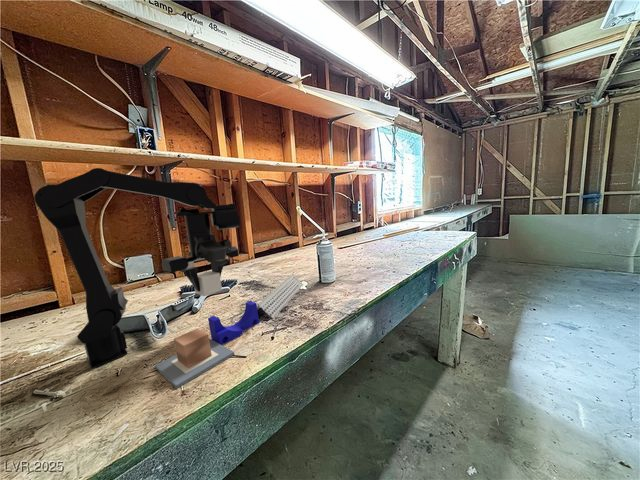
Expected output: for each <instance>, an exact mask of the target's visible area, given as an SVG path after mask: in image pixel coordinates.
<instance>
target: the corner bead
mask: <svg viewBox="0 0 640 480" xmlns="http://www.w3.org/2000/svg"><path fill="white" fill-rule="evenodd" d="M303 286H304V283H303V282H301V281H300V280H299V279H298V277H296V276H295V275H294V273H292V274H291V275H289V276H288V277H287V278H286V279H285V280H284V281H283V282H281V283H280V284H279V285H278V286H277V287H276V288H275V289H274V290H273V291H272V292H270V293H269V294H268V295H266V296H265V297H264V298H263V299H262V300H261V301H260V302H258V303H257V311H258V310H259V309H260V308H261V310H262V311H264V312H265V313H266V314H267V316H269V317H270V318H272V319H275V317H277V315H278V314H279V313H280V312H281V311H282V310H283V308H284V307H285V306H286V305H287V304H288V303H289V302H290V300H291V299H293V297H294V296H295V295H296V294H297V293H298V292H299V290H300V289H301V288H302V287H303Z"/></svg>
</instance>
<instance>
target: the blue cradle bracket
mask: <svg viewBox="0 0 640 480" xmlns="http://www.w3.org/2000/svg"><path fill="white" fill-rule="evenodd" d="M257 306H258V303H257V302H255V301H252V300H249V301H247V302H245V309H244V313H243V314H242V316H241V318H240V319H239V320H238V321H237V322H236V323H234V324H232V325H228V326H225V325H224V324H222V322H221V319H220V318H219V317H218V316H215V315H212V316H210V317H208V318H207V320H208V321H207V322H208V326H209V331H210V332H209V333H210V339H211V340H213V341H215V342H217V343H219V344H221V345H222V346H224V345H225V344H227V343H229V342H231V341H233V340H235V339H237V338H239V337H241V336H242V335H244V331H246V330H248V329H250V328H252V327H255V326H256V325H258V324H260V320H259V311H258V310H257Z"/></svg>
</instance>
